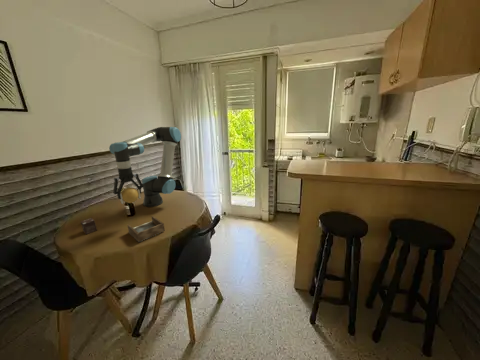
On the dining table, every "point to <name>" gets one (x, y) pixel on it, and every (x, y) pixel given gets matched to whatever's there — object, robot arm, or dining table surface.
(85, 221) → the box
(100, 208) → the dining table surface
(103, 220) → the dining table surface
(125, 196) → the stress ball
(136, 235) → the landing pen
